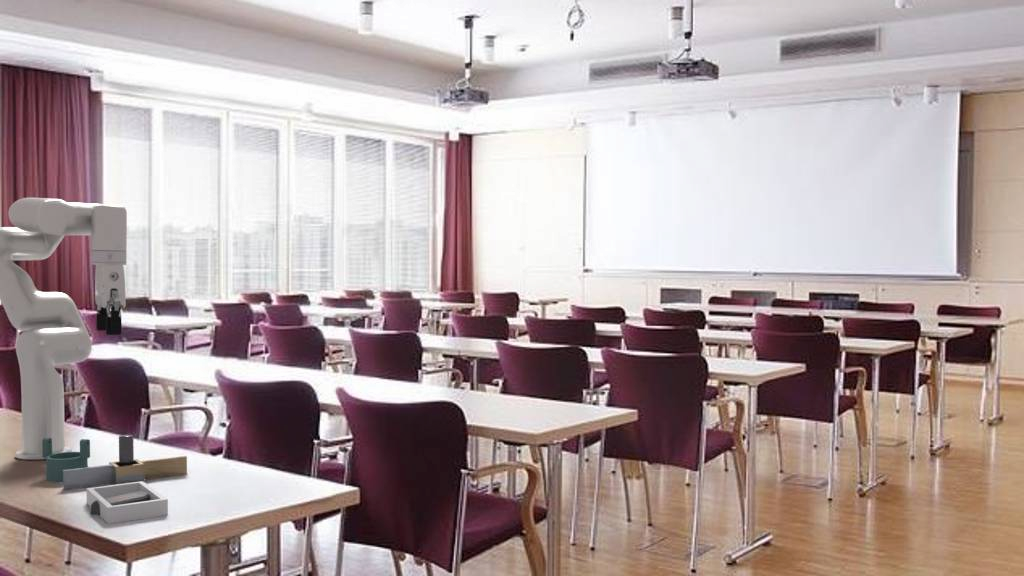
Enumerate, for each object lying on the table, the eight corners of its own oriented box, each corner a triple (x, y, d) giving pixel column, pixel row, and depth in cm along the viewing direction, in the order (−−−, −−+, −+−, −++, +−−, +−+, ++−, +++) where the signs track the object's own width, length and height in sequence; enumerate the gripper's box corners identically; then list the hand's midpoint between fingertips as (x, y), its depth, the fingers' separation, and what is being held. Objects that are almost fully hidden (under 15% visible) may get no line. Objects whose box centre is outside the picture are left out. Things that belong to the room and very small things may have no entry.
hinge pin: (132, 478, 222) (131, 434, 221) (135, 481, 219) (134, 436, 219) (117, 480, 220) (117, 435, 220) (121, 483, 218) (120, 438, 217)
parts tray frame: (86, 503, 201) (86, 488, 201) (142, 495, 207) (142, 481, 207) (108, 523, 186) (107, 507, 186) (167, 514, 192) (167, 499, 192)
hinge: (66, 492, 210) (66, 473, 210) (60, 486, 215) (60, 468, 214) (190, 476, 225) (190, 458, 224) (182, 471, 230) (182, 453, 229)
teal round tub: (91, 479, 221) (90, 439, 221) (45, 484, 217) (45, 443, 216) (85, 472, 229) (85, 433, 229) (41, 476, 224) (41, 437, 224)
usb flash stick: (90, 513, 193) (90, 499, 193) (143, 501, 203) (143, 488, 203) (106, 517, 190) (106, 503, 190) (159, 505, 200) (160, 492, 200)
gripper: (135, 260, 224) (135, 335, 225) (117, 257, 238) (116, 328, 239) (100, 259, 219) (99, 337, 220) (83, 256, 234) (83, 329, 235)
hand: (108, 332), depth 230 cm, fingers open, 9 cm apart
